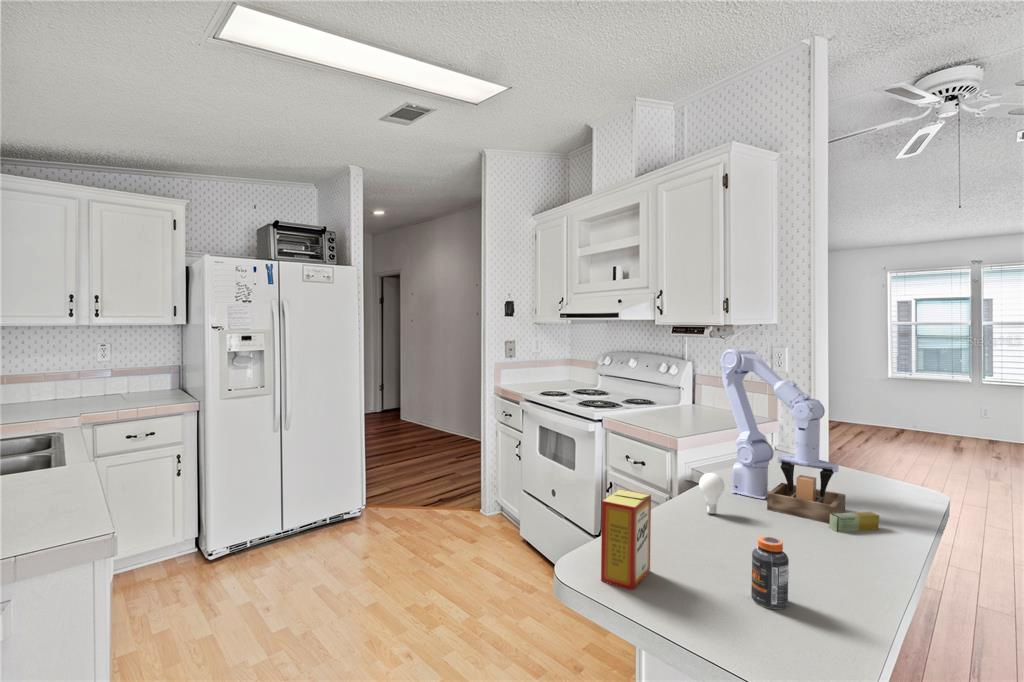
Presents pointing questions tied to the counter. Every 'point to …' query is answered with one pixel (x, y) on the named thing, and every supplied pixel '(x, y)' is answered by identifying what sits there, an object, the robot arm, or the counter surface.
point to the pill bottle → (770, 573)
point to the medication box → (853, 521)
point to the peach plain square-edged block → (806, 488)
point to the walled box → (805, 503)
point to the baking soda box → (625, 538)
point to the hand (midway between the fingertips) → (806, 493)
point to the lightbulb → (711, 490)
